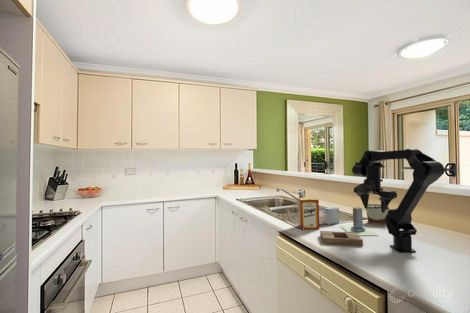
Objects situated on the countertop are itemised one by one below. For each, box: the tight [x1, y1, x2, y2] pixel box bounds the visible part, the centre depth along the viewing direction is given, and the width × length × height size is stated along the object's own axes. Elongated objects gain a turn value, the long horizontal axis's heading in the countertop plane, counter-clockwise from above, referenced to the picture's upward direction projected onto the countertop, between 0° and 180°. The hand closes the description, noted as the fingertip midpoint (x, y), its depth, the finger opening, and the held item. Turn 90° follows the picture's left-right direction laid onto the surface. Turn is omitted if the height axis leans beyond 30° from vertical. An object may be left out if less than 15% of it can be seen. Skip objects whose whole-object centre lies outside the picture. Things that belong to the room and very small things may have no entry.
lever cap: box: [351, 207, 366, 232], centre depth 118 cm, size 5×4×12 cm
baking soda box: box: [297, 197, 320, 230], centre depth 126 cm, size 10×6×16 cm
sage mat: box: [340, 225, 379, 237], centre depth 118 cm, size 14×12×1 cm
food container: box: [364, 203, 390, 225], centre depth 132 cm, size 12×6×10 cm, turn 74°
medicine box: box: [322, 206, 340, 225], centre depth 133 cm, size 8×4×9 cm, turn 111°
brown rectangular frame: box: [319, 230, 364, 247], centre depth 105 cm, size 10×16×2 cm, turn 77°
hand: (374, 210), depth 108 cm, fingers open, 9 cm apart
